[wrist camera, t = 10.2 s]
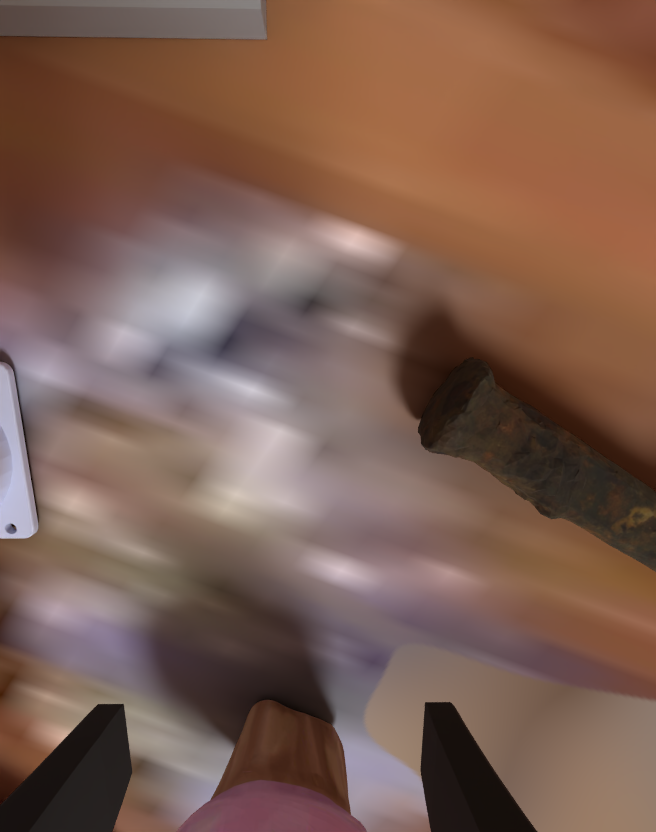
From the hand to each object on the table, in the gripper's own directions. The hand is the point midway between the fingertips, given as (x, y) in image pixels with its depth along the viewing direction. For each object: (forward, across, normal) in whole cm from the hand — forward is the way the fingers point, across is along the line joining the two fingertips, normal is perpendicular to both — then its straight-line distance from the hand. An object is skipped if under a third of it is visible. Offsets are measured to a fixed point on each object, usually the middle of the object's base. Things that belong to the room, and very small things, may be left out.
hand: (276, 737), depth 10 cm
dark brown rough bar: (+10, -14, -2) cm, 18 cm away
